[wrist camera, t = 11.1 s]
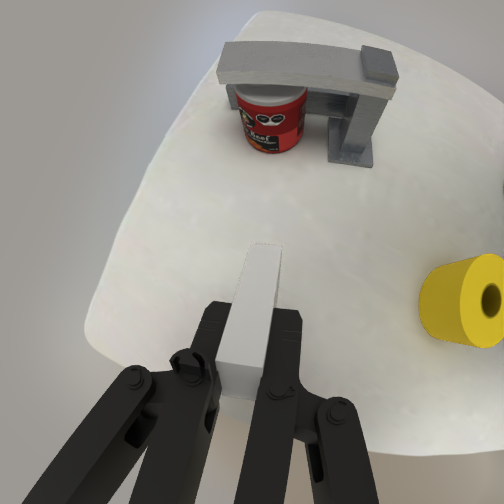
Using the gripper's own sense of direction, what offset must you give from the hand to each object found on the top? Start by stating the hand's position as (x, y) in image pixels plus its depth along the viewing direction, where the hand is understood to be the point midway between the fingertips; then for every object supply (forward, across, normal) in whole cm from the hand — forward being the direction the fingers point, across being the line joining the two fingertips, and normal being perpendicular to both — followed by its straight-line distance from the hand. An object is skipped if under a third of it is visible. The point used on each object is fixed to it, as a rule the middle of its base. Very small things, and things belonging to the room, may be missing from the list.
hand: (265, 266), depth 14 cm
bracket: (+28, +1, +2) cm, 29 cm away
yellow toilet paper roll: (+13, +23, -14) cm, 30 cm away
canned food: (+28, -2, +1) cm, 28 cm away
